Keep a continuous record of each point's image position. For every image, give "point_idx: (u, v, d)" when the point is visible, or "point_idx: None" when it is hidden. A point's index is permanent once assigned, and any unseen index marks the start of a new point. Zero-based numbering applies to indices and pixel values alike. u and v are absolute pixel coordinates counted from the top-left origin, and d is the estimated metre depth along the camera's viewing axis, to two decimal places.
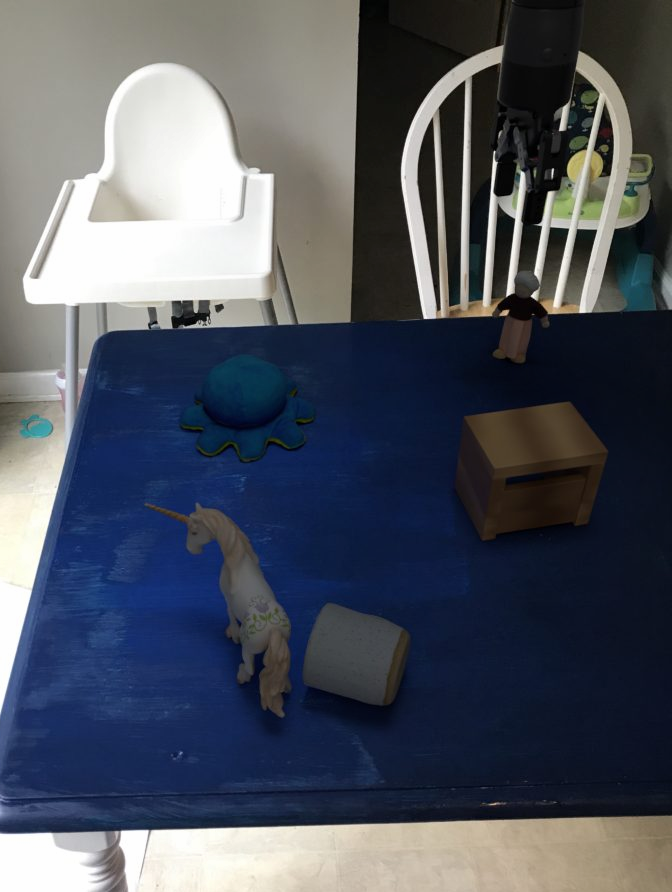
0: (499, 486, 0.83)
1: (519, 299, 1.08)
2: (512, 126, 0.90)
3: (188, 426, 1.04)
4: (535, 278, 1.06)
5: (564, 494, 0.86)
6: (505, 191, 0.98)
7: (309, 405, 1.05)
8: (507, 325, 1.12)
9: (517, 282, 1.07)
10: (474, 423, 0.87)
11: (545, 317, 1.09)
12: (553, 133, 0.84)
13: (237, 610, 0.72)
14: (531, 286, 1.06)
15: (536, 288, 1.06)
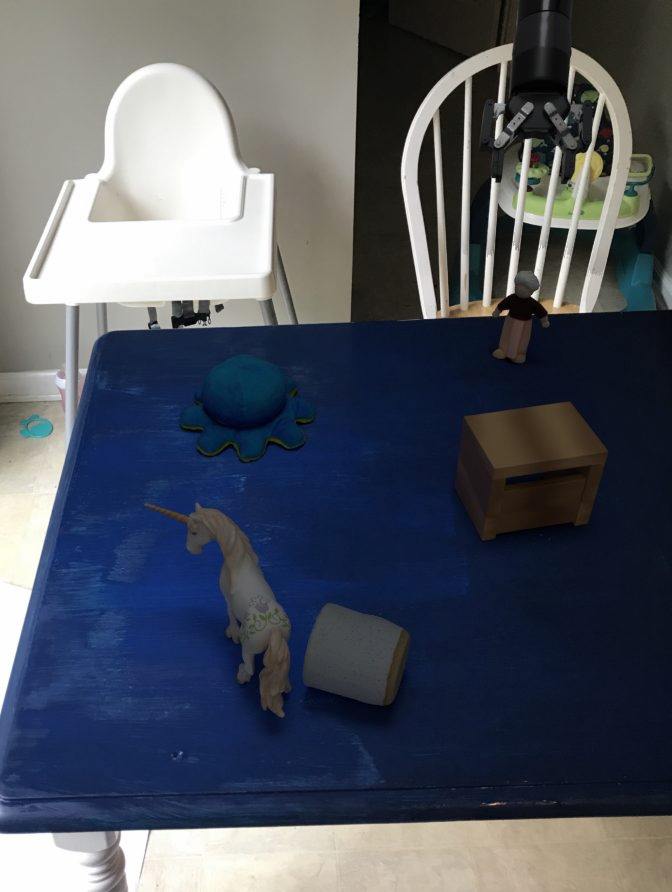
0: (499, 486, 0.83)
1: (519, 299, 1.08)
2: (533, 108, 1.08)
3: (188, 426, 1.04)
4: (535, 278, 1.06)
5: (564, 494, 0.86)
6: None
7: (309, 405, 1.05)
8: (507, 325, 1.12)
9: (517, 282, 1.07)
10: (474, 423, 0.87)
11: (545, 317, 1.09)
12: None
13: (237, 610, 0.72)
14: (531, 286, 1.06)
15: (536, 288, 1.06)
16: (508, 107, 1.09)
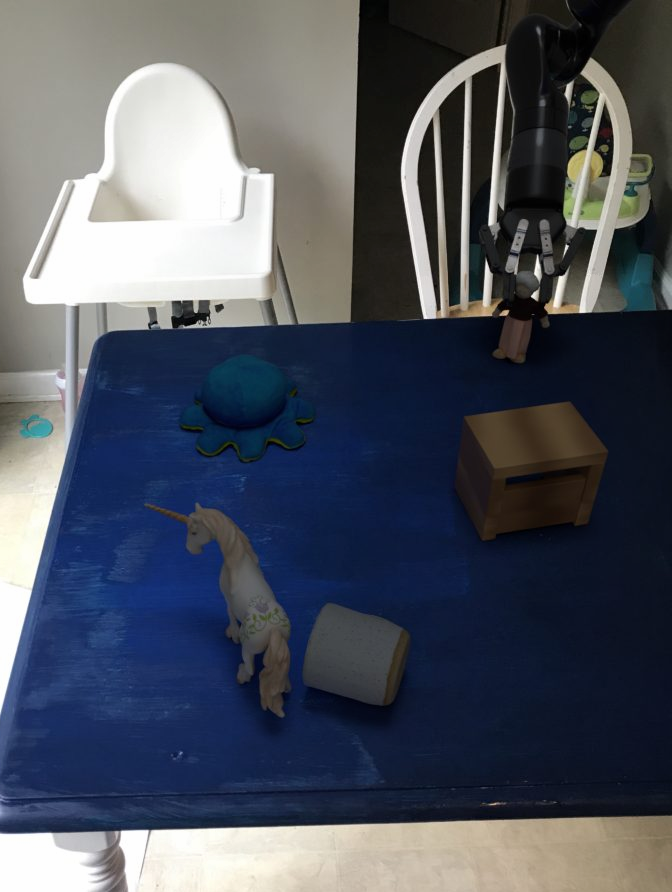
0: (499, 486, 0.83)
1: (519, 299, 1.08)
2: (528, 224, 1.06)
3: (188, 426, 1.04)
4: (535, 278, 1.06)
5: (564, 494, 0.86)
6: None
7: (309, 405, 1.05)
8: (507, 325, 1.12)
9: (517, 282, 1.07)
10: (474, 423, 0.87)
11: (545, 317, 1.09)
12: None
13: (237, 610, 0.72)
14: (531, 286, 1.06)
15: (536, 288, 1.06)
16: (504, 225, 1.07)
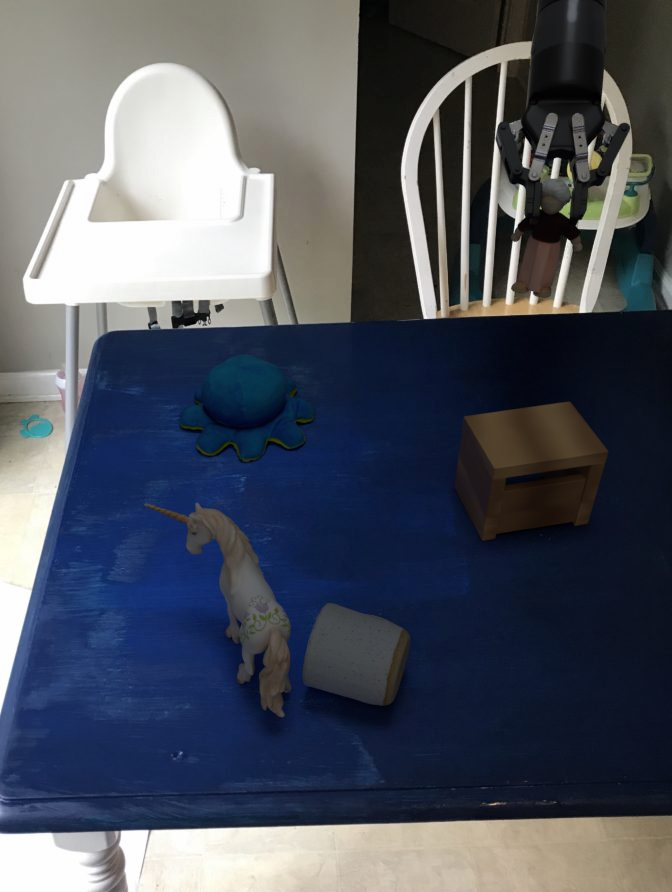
0: (499, 486, 0.83)
1: (546, 215, 0.88)
2: (557, 120, 0.85)
3: (188, 426, 1.04)
4: (566, 187, 0.85)
5: (564, 494, 0.86)
6: None
7: (309, 405, 1.05)
8: (529, 250, 0.91)
9: (543, 193, 0.86)
10: (474, 423, 0.87)
11: (577, 238, 0.88)
12: None
13: (237, 610, 0.72)
14: (561, 196, 0.85)
15: (567, 199, 0.86)
16: (527, 122, 0.86)
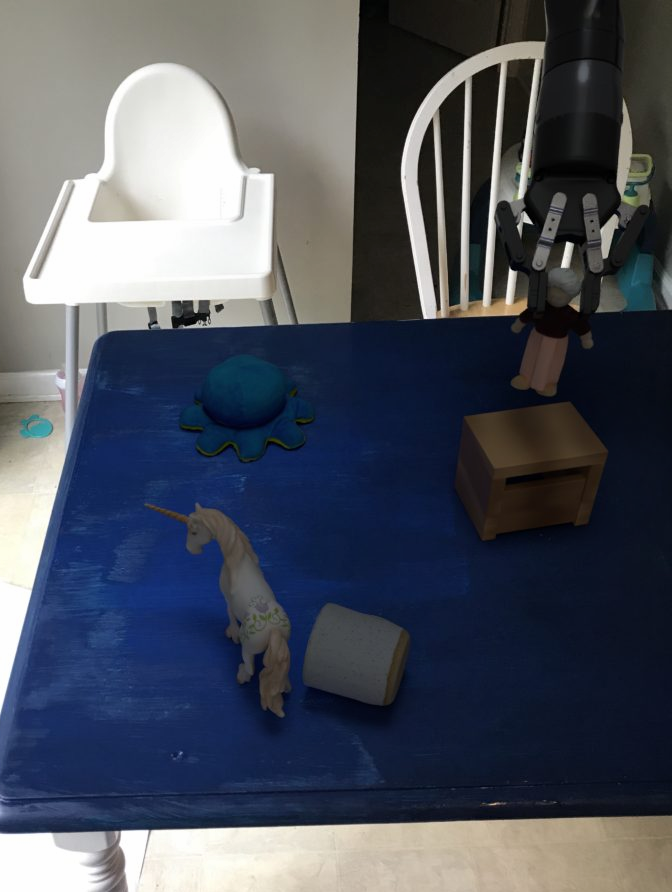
0: (499, 486, 0.83)
1: (552, 308, 0.76)
2: (565, 201, 0.74)
3: (188, 426, 1.04)
4: (576, 278, 0.74)
5: (564, 494, 0.86)
6: None
7: (309, 405, 1.05)
8: (532, 344, 0.80)
9: (549, 284, 0.74)
10: (474, 423, 0.87)
11: (588, 334, 0.77)
12: None
13: (237, 610, 0.72)
14: (570, 289, 0.74)
15: (577, 292, 0.74)
16: (531, 201, 0.75)
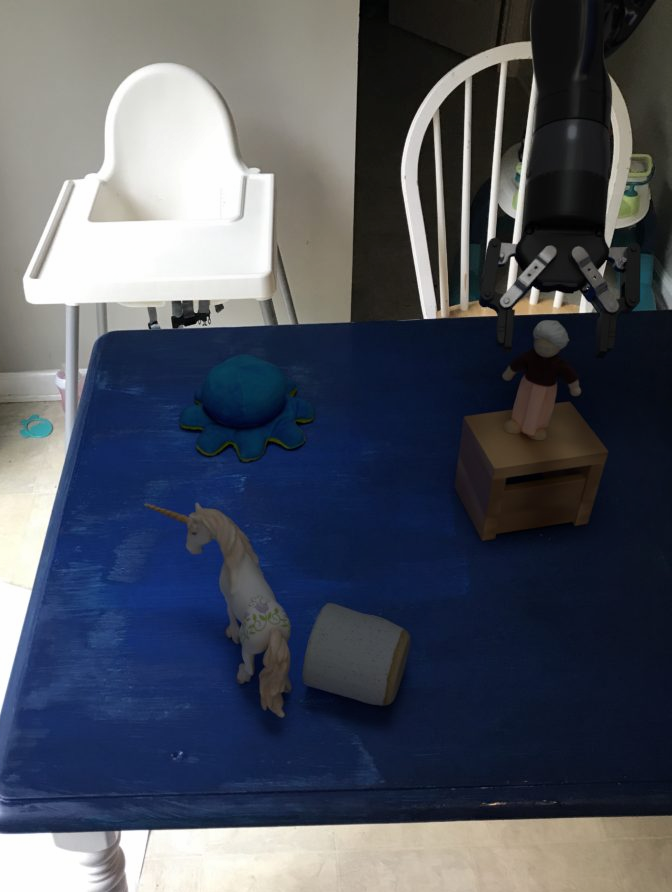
0: (499, 486, 0.83)
1: (540, 358, 0.80)
2: (555, 253, 0.77)
3: (188, 426, 1.04)
4: (563, 331, 0.77)
5: (564, 494, 0.86)
6: None
7: (309, 405, 1.05)
8: (523, 391, 0.83)
9: (538, 336, 0.78)
10: (474, 423, 0.87)
11: (575, 382, 0.80)
12: None
13: (237, 610, 0.72)
14: (557, 341, 0.77)
15: (564, 344, 0.78)
16: (520, 250, 0.78)
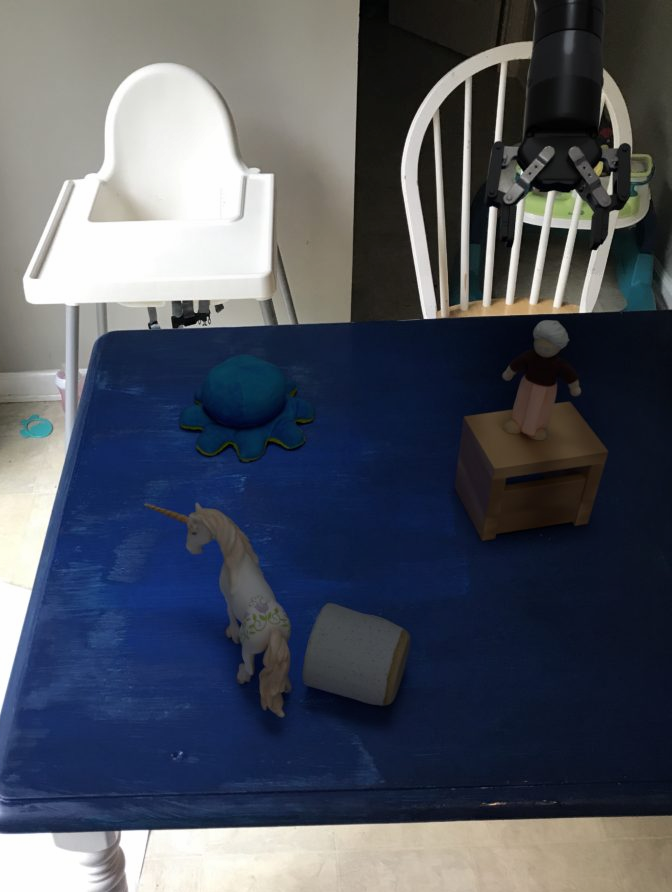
0: (499, 486, 0.83)
1: (540, 358, 0.80)
2: (554, 153, 0.84)
3: (187, 426, 1.04)
4: (563, 331, 0.77)
5: (564, 494, 0.86)
6: None
7: (309, 405, 1.05)
8: (523, 391, 0.83)
9: (538, 336, 0.78)
10: (474, 423, 0.87)
11: (575, 382, 0.80)
12: None
13: (237, 610, 0.72)
14: (557, 341, 0.77)
15: (564, 344, 0.78)
16: (522, 152, 0.85)
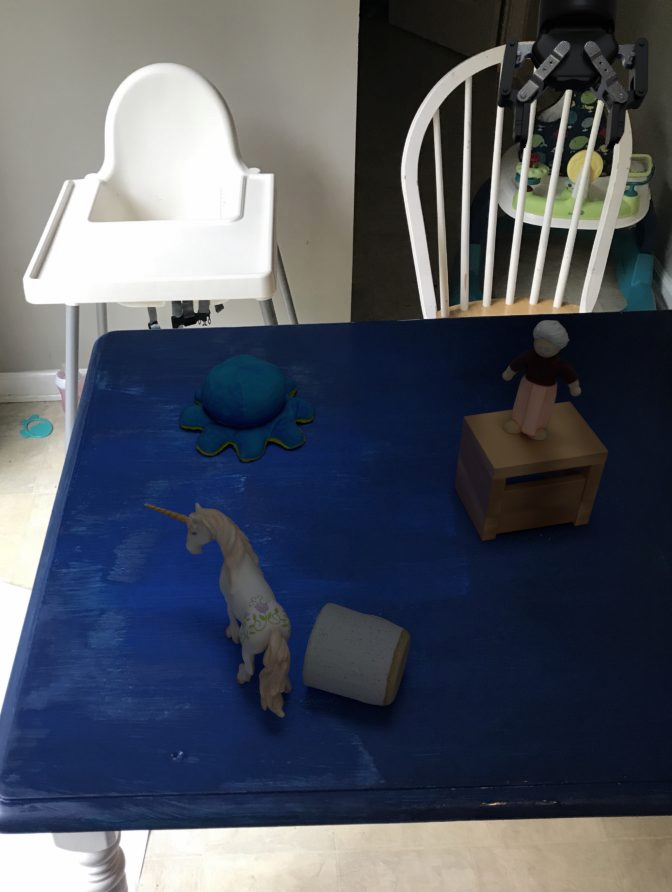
0: (499, 486, 0.83)
1: (540, 358, 0.80)
2: None
3: (187, 426, 1.04)
4: (563, 331, 0.77)
5: (564, 494, 0.86)
6: None
7: (309, 405, 1.05)
8: (523, 391, 0.83)
9: (538, 336, 0.78)
10: (474, 423, 0.87)
11: (575, 382, 0.80)
12: None
13: (237, 610, 0.72)
14: (557, 341, 0.77)
15: (564, 344, 0.78)
16: (536, 48, 0.83)
